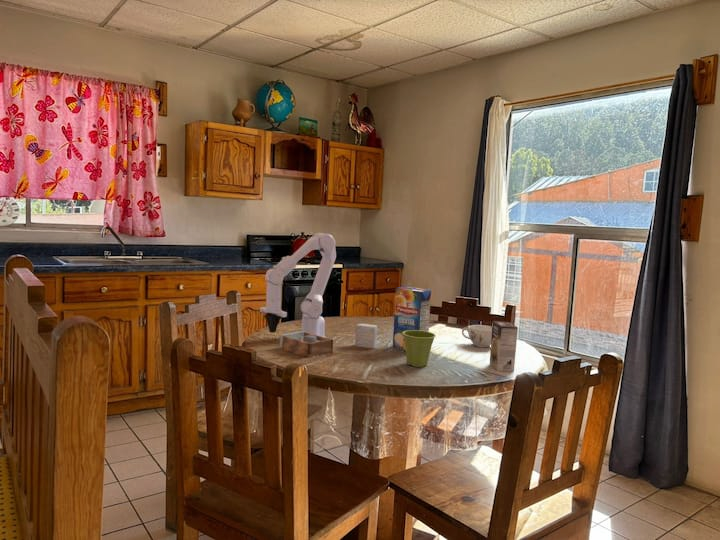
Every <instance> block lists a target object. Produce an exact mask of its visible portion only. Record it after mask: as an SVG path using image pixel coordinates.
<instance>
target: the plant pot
mask: <svg viewBox="0 0 720 540" xmlns="http://www.w3.org/2000/svg"><path fill="white" fill-rule="evenodd" d="M403 335H404V340H405V347H406V350H405V355H406V364H407V365H409V366H410V365H411V366H412V367H419V368H422V367H425V366H426V367H427V366H428V361H429V358H430V353H431V350H432V346H433V343H434V339H435V338H436V336H437V335H436V334H435V333H433V332H431V331H429V332H427V331H419V330H408V331H404V332H403Z"/></svg>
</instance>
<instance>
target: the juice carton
mask: <svg viewBox="0 0 720 540" xmlns="http://www.w3.org/2000/svg"><path fill="white" fill-rule="evenodd" d="M431 297H432V290H431V289H425V288H419V287H411V286H401V287H395V297H394V298H395V299H394V315H393V317H394V318H393V332H392V334H393V335H392V348H395V349H397V350H398V349H399V350H403V351H406V347H405V340H404V335H403V332H404V331H408V330H419V331H427V332H430V314H431V313H430V312H431V300H432V298H431Z"/></svg>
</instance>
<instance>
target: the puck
mask: <svg viewBox="0 0 720 540" xmlns="http://www.w3.org/2000/svg"><path fill="white" fill-rule="evenodd" d="M316 338H317V337H316V336H312V335H306V336H303V341H304V342H308V343H313V342H316Z"/></svg>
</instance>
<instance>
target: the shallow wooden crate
mask: <svg viewBox="0 0 720 540" xmlns="http://www.w3.org/2000/svg"><path fill="white" fill-rule="evenodd" d="M306 335H312V336H316V337H317V338H316V340H318V342H313V343H308V342H304V341H301V340H297V339H294V338H290V337H287V336H283V346H281V349H282V350H284V351H287V352H291V353H294V354H296V355H299V354H300V356H303V357H306V356H307V357H306V358H309V357H310V358H314V357H313V356H315V357H318V356H317V355H319V356H323V355H322V354H324V355H327V353H328V354H332V352H334V351H333V350H334V339H332V338H329V337H326V338H325V337H322V336H318V335H314V334H310V333H307V332H306V333H304V336H306Z"/></svg>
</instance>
